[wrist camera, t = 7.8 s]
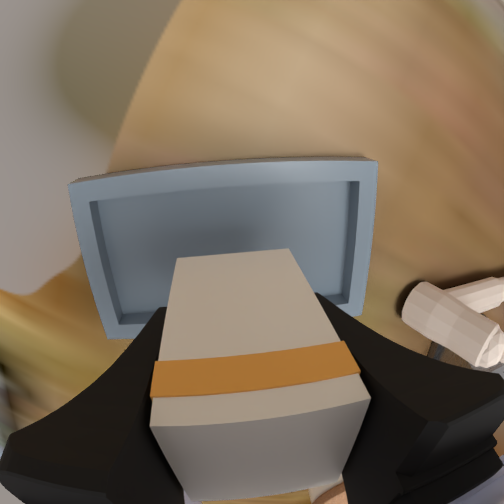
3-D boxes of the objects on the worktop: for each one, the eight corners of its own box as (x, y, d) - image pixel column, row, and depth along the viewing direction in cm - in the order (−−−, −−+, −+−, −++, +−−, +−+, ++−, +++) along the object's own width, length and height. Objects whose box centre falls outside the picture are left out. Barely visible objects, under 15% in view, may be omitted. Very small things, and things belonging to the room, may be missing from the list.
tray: (113, 324, 18) (107, 339, 16) (79, 178, 14) (67, 184, 13) (352, 301, 19) (361, 314, 18) (364, 157, 16) (377, 161, 14)
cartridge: (191, 345, 13) (189, 501, 6) (175, 256, 11) (146, 424, 5) (288, 336, 13) (338, 482, 7) (289, 246, 11) (373, 395, 5)
